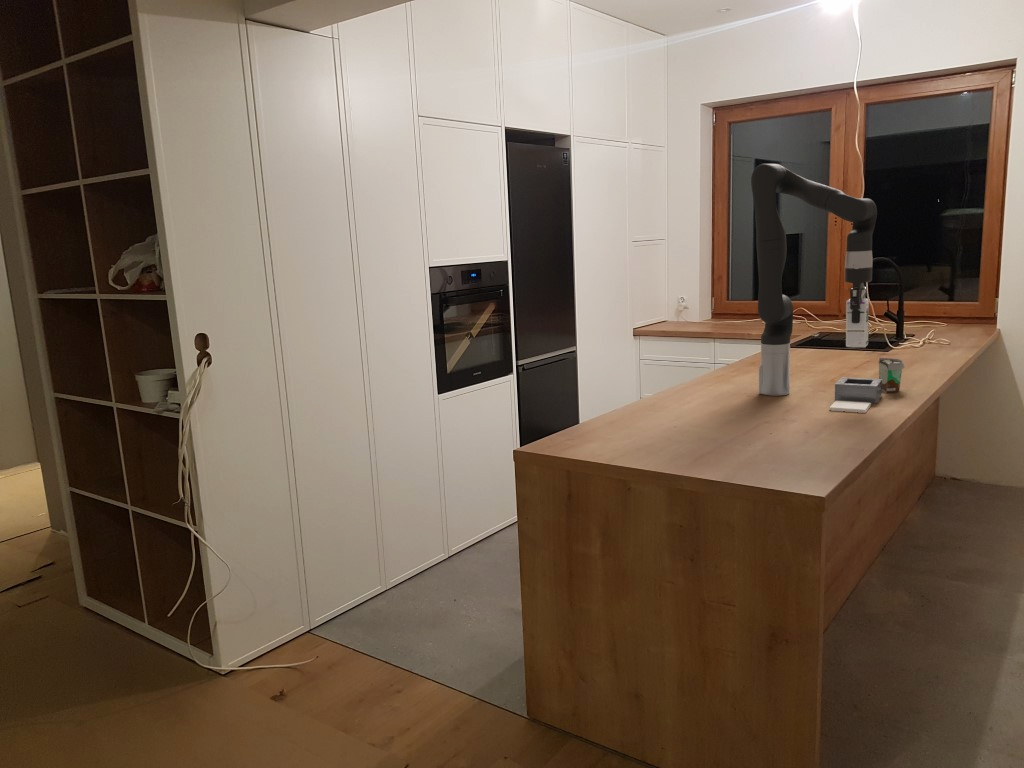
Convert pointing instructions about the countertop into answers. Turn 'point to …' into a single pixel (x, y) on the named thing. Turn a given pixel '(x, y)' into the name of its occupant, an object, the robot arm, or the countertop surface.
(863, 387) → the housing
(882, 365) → the food container
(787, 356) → the robot arm
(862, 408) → the pad
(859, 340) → the syrup box
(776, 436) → the countertop surface
